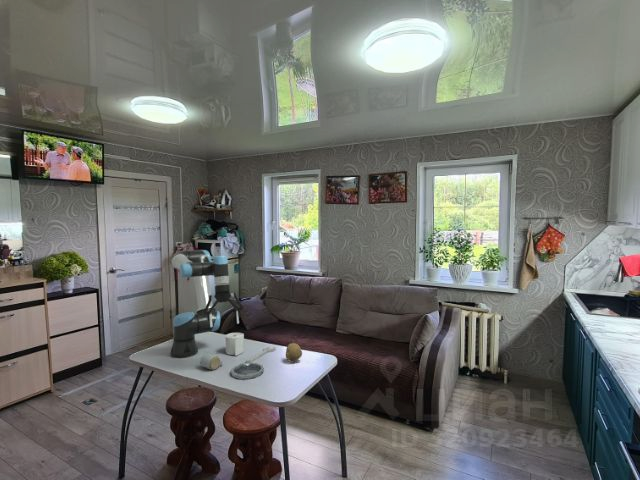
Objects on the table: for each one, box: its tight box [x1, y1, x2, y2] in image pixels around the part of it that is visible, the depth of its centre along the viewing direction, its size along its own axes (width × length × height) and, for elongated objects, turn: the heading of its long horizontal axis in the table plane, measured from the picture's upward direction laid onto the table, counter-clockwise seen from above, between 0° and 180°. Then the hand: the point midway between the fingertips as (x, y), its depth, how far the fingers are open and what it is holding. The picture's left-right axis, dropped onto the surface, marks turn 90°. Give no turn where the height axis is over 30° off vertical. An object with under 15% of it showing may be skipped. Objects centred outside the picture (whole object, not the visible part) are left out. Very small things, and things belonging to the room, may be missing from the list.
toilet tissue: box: [225, 332, 245, 357], centre depth 200 cm, size 11×12×10 cm
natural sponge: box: [285, 342, 303, 362], centre depth 186 cm, size 9×9×10 cm
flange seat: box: [230, 362, 265, 380], centre depth 171 cm, size 16×16×2 cm
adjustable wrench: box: [245, 346, 276, 363], centre depth 195 cm, size 25×6×2 cm, turn 150°
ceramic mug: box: [200, 351, 224, 371], centre depth 178 cm, size 11×8×8 cm
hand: (224, 325), depth 176 cm, fingers open, 13 cm apart
